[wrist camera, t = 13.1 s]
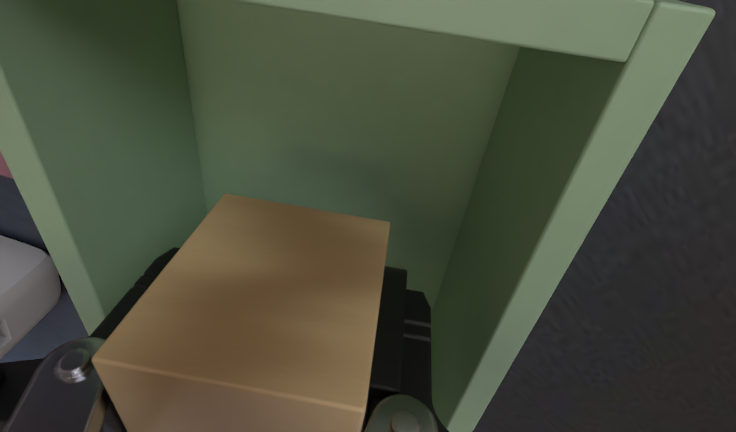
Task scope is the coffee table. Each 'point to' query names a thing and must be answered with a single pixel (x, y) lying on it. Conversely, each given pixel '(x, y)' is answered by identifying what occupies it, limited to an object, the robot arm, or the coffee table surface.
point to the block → (253, 325)
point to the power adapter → (24, 290)
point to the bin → (341, 139)
